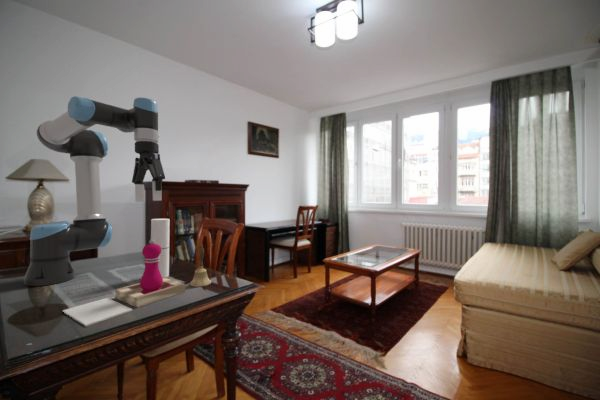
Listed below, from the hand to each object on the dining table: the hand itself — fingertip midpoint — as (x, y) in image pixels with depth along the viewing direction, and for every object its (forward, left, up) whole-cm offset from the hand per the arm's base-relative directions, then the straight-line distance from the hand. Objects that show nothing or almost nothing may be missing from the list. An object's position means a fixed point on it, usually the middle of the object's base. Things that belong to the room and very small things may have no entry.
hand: (148, 201), depth 97 cm
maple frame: (+2, 0, -34) cm, 34 cm away
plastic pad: (+2, -16, -34) cm, 37 cm away
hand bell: (+6, +18, -34) cm, 39 cm away
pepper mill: (+2, 0, -34) cm, 34 cm away
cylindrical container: (-16, +14, -34) cm, 40 cm away
